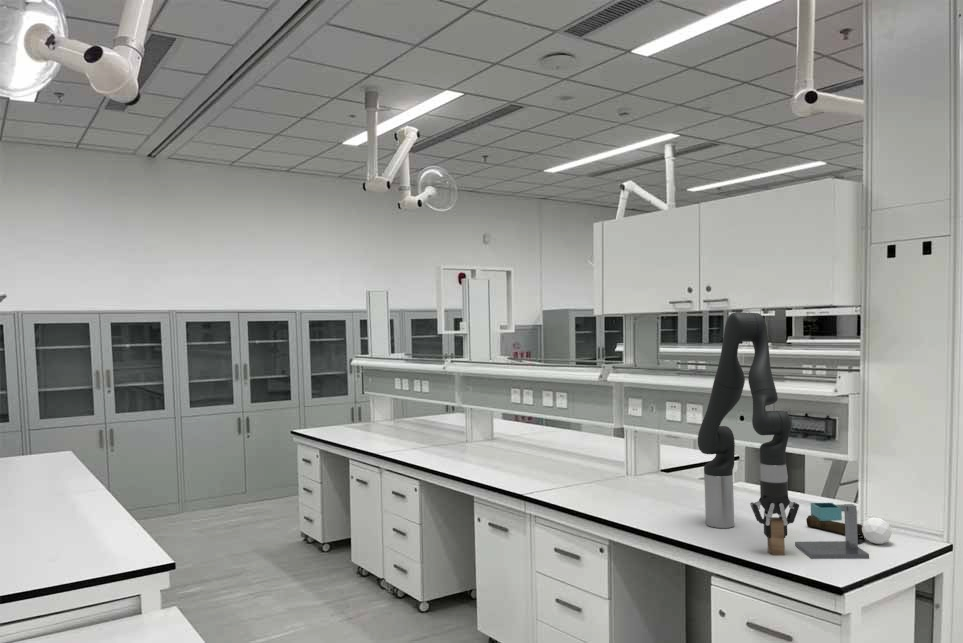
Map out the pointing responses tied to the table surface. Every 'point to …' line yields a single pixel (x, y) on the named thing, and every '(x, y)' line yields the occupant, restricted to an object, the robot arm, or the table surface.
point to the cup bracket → (834, 547)
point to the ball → (876, 530)
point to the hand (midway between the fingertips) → (775, 537)
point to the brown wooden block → (776, 537)
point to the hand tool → (830, 525)
